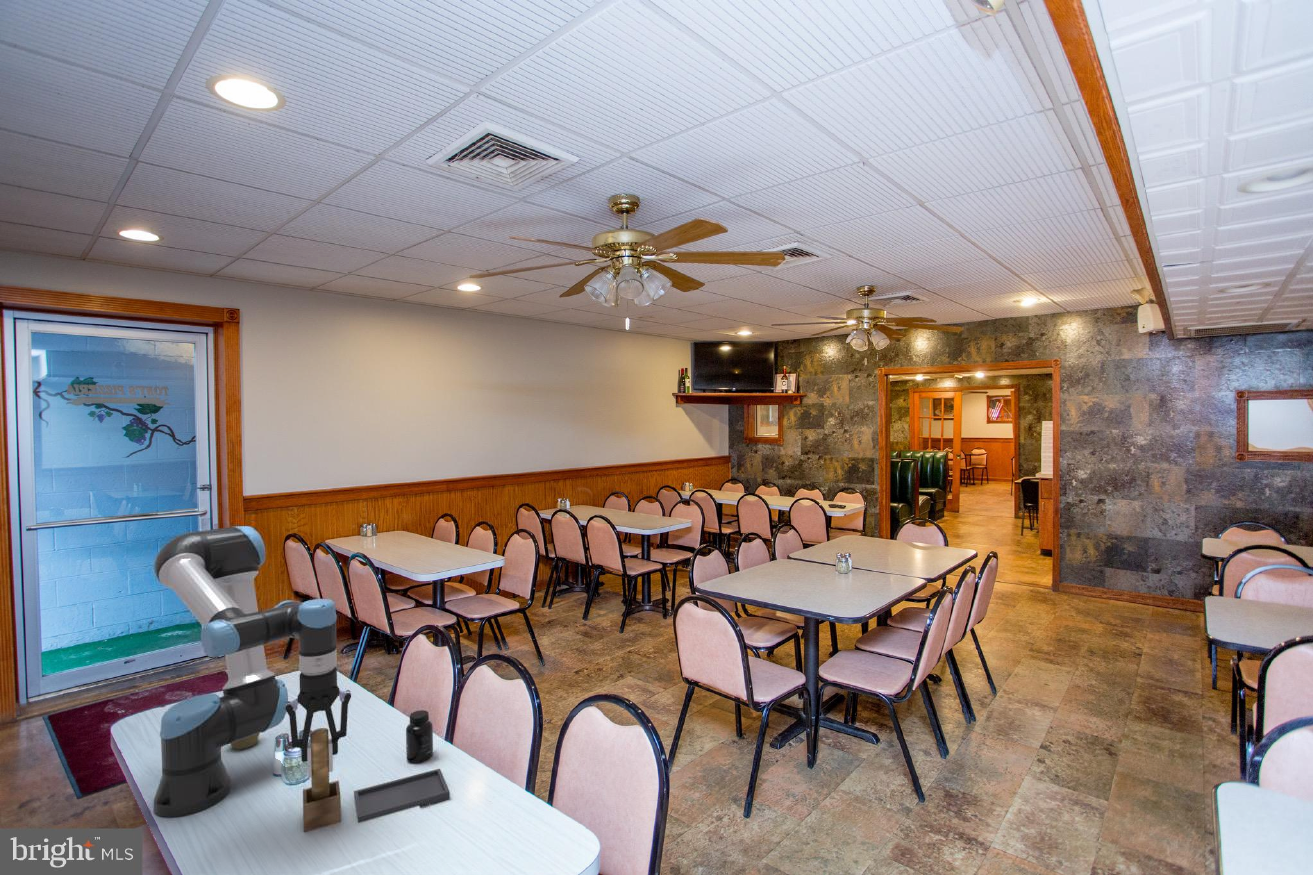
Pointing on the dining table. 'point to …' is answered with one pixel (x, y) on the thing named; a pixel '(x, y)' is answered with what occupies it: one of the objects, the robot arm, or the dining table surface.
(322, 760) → the dowel
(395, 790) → the tray
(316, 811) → the box
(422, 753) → the supplement bottle
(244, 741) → the squeeze bottle
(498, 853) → the dining table surface
